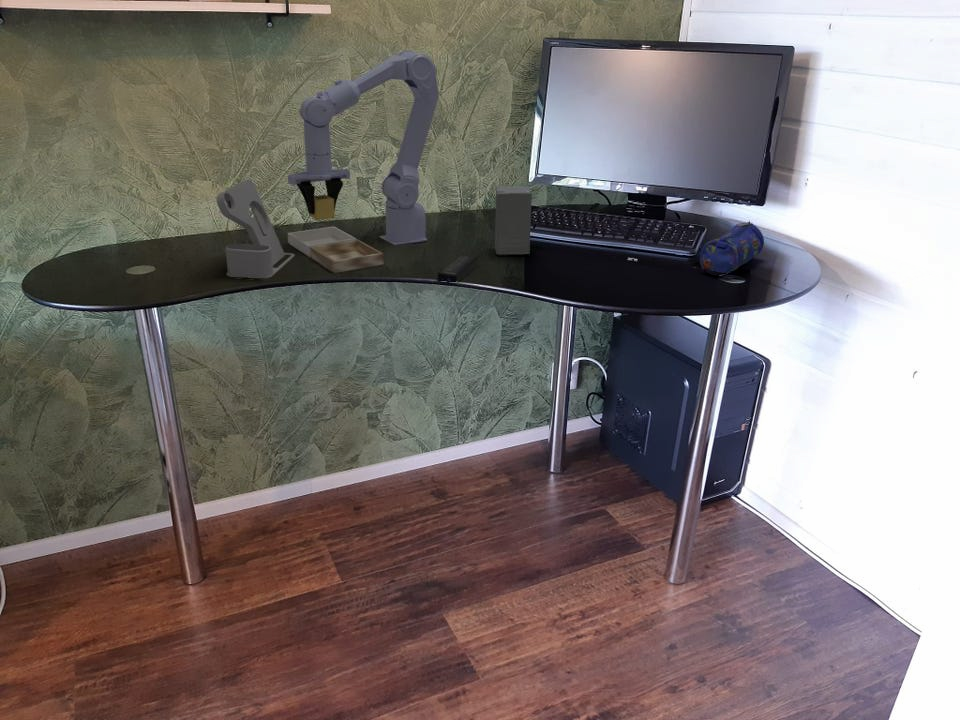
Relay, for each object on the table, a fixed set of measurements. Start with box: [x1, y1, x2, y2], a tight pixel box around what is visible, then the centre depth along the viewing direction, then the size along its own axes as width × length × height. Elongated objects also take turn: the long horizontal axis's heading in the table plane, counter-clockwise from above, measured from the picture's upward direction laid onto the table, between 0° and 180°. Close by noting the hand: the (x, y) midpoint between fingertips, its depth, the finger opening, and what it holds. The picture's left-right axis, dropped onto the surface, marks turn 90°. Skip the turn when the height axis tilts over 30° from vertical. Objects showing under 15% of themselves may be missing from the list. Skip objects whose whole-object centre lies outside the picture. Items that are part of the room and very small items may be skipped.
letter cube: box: [308, 194, 336, 221], centre depth 180 cm, size 4×4×5 cm
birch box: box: [310, 239, 385, 276], centre depth 175 cm, size 12×12×3 cm
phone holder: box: [216, 179, 295, 279], centre depth 168 cm, size 17×10×18 cm, turn 173°
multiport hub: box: [437, 254, 479, 282], centre depth 172 cm, size 4×14×2 cm, turn 161°
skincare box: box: [494, 185, 533, 255], centre depth 183 cm, size 8×7×16 cm
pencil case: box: [699, 220, 765, 275], centre depth 181 cm, size 22×9×10 cm, turn 144°
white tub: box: [287, 225, 358, 258], centre depth 184 cm, size 12×12×3 cm
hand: (321, 212), depth 181 cm, fingers closed on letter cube, 4 cm apart
